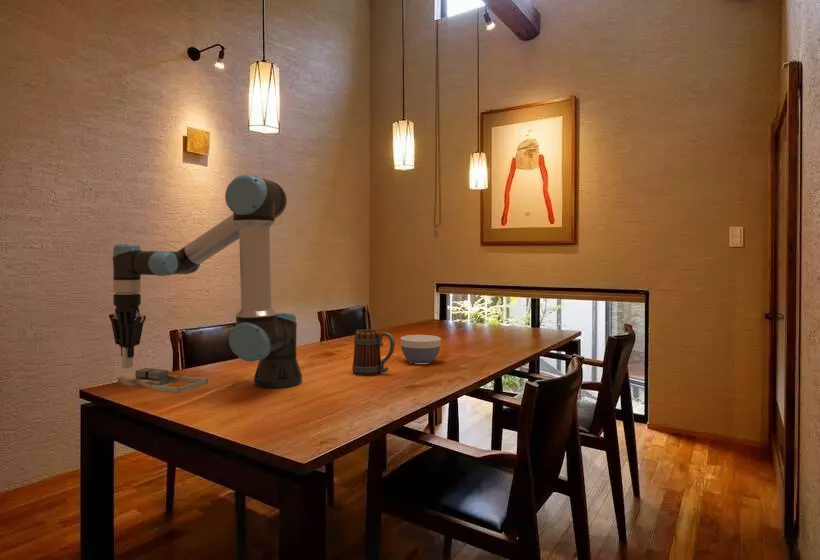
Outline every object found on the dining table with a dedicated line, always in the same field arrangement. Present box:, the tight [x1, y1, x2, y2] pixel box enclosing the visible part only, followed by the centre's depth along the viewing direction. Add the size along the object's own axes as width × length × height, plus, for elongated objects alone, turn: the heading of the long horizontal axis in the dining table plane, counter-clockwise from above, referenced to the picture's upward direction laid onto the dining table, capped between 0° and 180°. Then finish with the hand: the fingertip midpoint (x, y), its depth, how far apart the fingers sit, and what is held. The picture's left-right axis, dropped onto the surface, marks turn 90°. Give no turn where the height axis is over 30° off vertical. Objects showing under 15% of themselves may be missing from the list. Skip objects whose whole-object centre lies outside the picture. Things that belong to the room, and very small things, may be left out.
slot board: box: [117, 374, 180, 389], centre depth 156 cm, size 15×9×3 cm, turn 71°
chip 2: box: [148, 368, 170, 385], centre depth 154 cm, size 4×4×4 cm
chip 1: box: [135, 367, 157, 380], centre depth 156 cm, size 4×4×4 cm
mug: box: [351, 329, 395, 377], centre depth 177 cm, size 16×11×15 cm
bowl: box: [400, 334, 442, 364], centre depth 196 cm, size 16×16×10 cm
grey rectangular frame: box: [151, 376, 209, 394], centre depth 152 cm, size 10×12×3 cm
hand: (127, 367), depth 158 cm, fingers closed
